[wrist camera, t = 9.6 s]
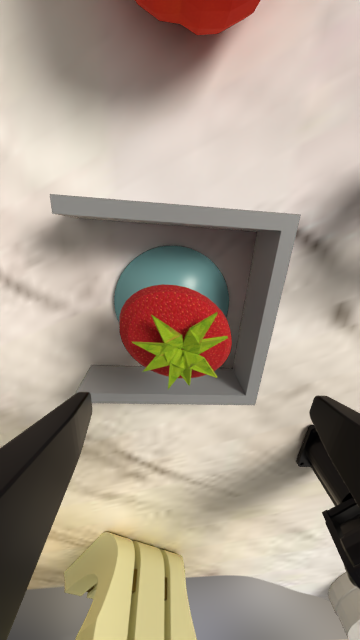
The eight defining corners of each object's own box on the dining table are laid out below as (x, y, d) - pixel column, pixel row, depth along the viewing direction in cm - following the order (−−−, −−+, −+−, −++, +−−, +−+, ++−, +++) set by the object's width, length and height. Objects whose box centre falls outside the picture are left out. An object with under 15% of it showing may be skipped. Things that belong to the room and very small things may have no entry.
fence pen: (240, 377, 23) (254, 405, 19) (92, 373, 22) (76, 402, 18) (272, 218, 17) (300, 214, 14) (76, 203, 16) (49, 194, 13)
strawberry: (147, 255, 18) (125, 280, 8) (227, 294, 19) (284, 352, 10) (121, 318, 19) (79, 396, 10) (196, 349, 21) (219, 441, 12)
